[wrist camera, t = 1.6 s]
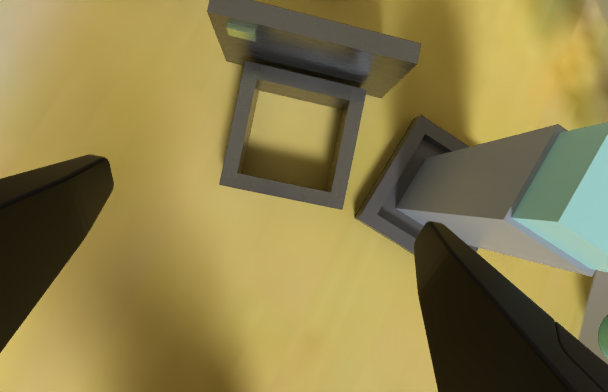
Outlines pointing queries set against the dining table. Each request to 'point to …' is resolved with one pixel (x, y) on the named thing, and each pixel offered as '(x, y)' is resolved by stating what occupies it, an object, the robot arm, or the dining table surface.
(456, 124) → the dining table surface
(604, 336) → the cupcake
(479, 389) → the robot arm
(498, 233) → the plug
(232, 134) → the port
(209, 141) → the dining table surface
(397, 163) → the tray
